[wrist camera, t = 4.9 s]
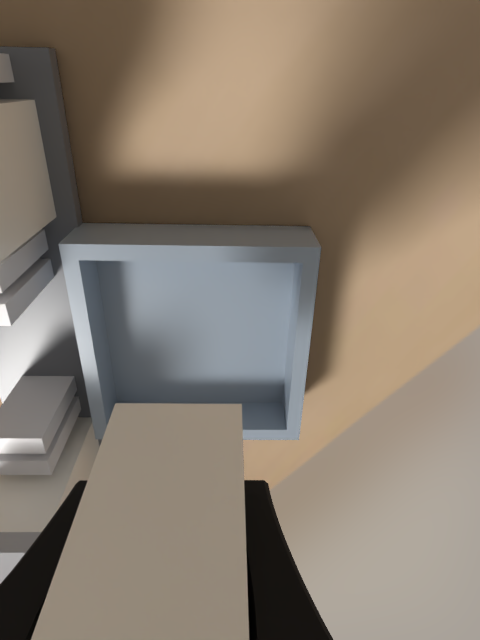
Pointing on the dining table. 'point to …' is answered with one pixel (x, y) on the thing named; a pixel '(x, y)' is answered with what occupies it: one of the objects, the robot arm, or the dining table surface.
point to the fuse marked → (157, 532)
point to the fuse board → (39, 292)
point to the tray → (194, 317)
